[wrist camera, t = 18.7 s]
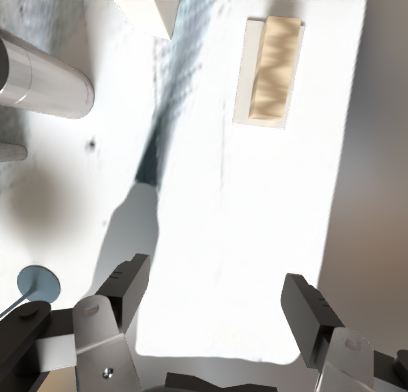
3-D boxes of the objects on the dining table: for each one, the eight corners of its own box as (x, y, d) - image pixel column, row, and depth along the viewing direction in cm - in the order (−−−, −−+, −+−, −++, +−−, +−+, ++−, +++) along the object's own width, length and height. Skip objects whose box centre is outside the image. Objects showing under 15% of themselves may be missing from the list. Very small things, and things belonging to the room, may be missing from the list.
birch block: (252, 114, 34) (268, 15, 31) (248, 118, 39) (260, 33, 36) (282, 117, 34) (301, 18, 31) (274, 121, 39) (289, 36, 36)
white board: (232, 123, 40) (232, 123, 40) (246, 22, 36) (247, 19, 35) (283, 129, 40) (284, 129, 39) (303, 28, 36) (305, 26, 35)
